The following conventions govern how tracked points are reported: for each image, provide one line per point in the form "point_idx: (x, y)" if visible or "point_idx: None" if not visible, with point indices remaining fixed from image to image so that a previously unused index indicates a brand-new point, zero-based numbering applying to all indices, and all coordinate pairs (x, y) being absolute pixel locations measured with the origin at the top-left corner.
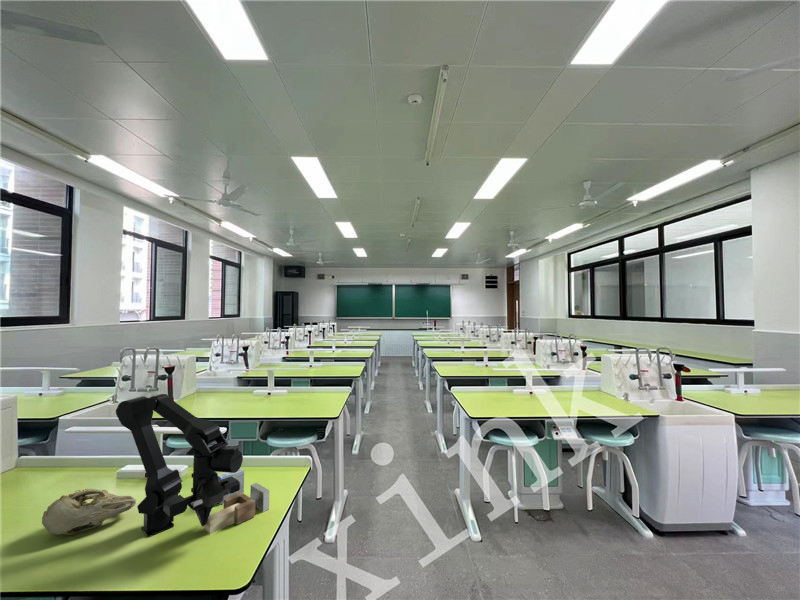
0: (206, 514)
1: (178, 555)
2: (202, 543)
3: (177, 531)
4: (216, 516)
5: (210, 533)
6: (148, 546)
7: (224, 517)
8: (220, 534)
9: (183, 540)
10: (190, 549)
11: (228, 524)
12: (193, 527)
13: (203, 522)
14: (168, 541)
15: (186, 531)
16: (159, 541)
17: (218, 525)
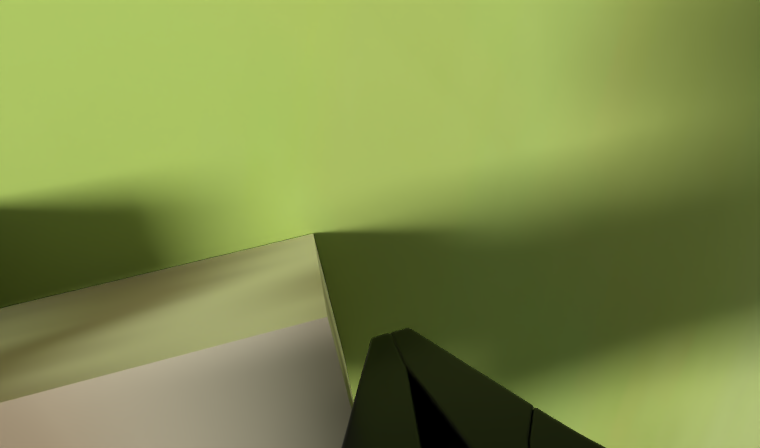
0: (414, 443)
1: (675, 18)
2: (426, 79)
3: None
4: (205, 412)
5: (306, 237)
6: (756, 347)
7: (72, 360)
8: (193, 136)
9: (555, 274)
10: (558, 47)
11: (63, 298)
12: None
13: (417, 353)
14: (644, 333)
15: None
16: (685, 371)
17: (197, 286)
